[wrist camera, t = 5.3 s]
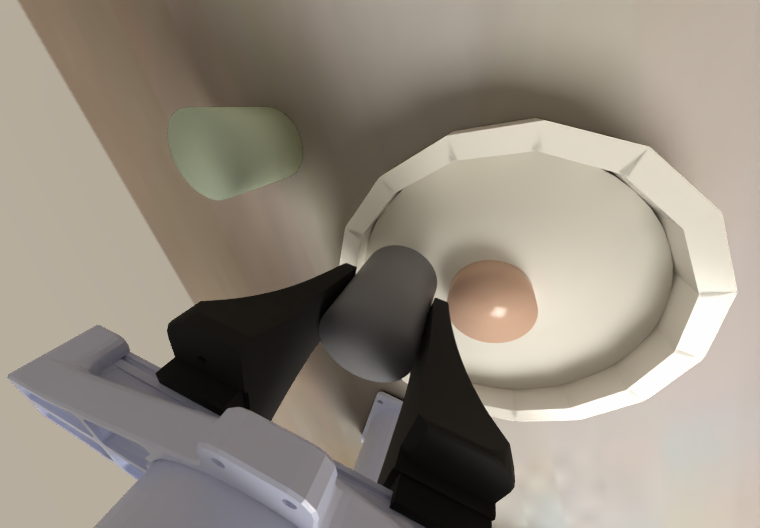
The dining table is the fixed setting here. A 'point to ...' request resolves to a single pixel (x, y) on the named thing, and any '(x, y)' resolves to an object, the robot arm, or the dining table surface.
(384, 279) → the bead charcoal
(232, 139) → the pale green rounded block
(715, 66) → the dining table surface
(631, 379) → the groove tray
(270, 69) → the dining table surface
